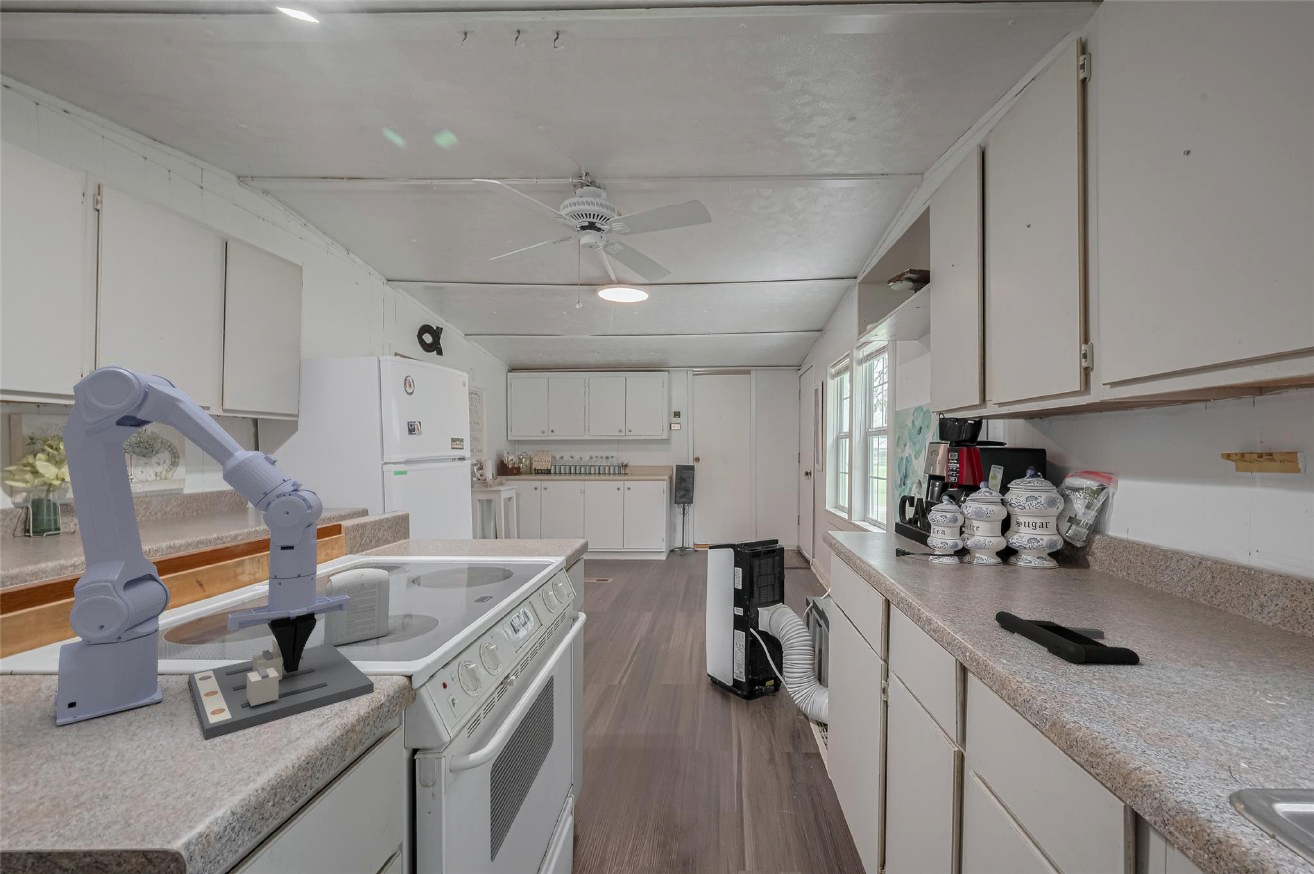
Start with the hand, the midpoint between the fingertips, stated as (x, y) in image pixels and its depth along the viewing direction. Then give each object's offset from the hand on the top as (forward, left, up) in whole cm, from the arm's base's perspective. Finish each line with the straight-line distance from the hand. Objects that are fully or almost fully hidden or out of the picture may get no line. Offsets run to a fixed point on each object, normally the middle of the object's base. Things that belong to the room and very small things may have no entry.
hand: (290, 670), depth 78 cm
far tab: (+1, +7, 0) cm, 7 cm away
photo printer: (+13, +14, -2) cm, 19 cm away
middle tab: (-3, 0, 0) cm, 3 cm away
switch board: (-1, 0, -2) cm, 2 cm away
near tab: (-4, -7, 0) cm, 8 cm away
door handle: (+100, -75, -3) cm, 125 cm away
